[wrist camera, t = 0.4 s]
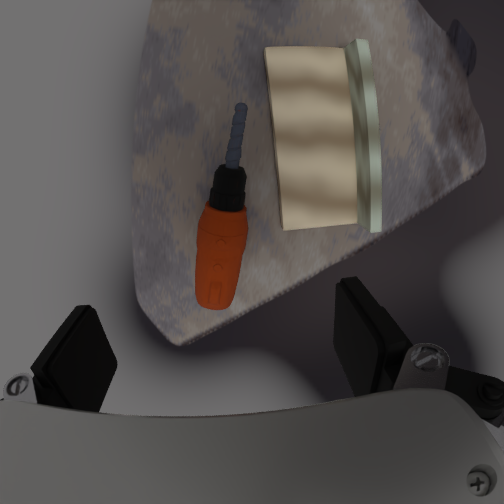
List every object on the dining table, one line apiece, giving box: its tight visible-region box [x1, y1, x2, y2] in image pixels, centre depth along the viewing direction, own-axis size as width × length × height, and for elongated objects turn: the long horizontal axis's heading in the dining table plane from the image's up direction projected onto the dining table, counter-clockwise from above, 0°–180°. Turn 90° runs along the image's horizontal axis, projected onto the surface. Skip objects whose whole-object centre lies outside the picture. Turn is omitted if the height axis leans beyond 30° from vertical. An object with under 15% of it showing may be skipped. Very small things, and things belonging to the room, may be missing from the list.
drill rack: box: [264, 39, 382, 233], centre depth 30 cm, size 22×11×6 cm, turn 6°
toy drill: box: [195, 103, 248, 310], centre depth 28 cm, size 5×19×15 cm, turn 171°
